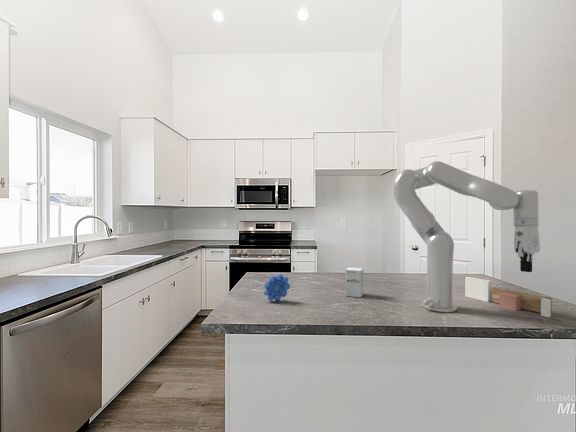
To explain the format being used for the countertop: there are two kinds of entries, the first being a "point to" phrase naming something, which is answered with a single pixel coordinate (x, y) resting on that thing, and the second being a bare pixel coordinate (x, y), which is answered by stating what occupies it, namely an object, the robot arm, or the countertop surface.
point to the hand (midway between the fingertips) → (526, 271)
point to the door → (527, 299)
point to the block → (510, 301)
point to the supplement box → (354, 282)
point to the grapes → (276, 287)
